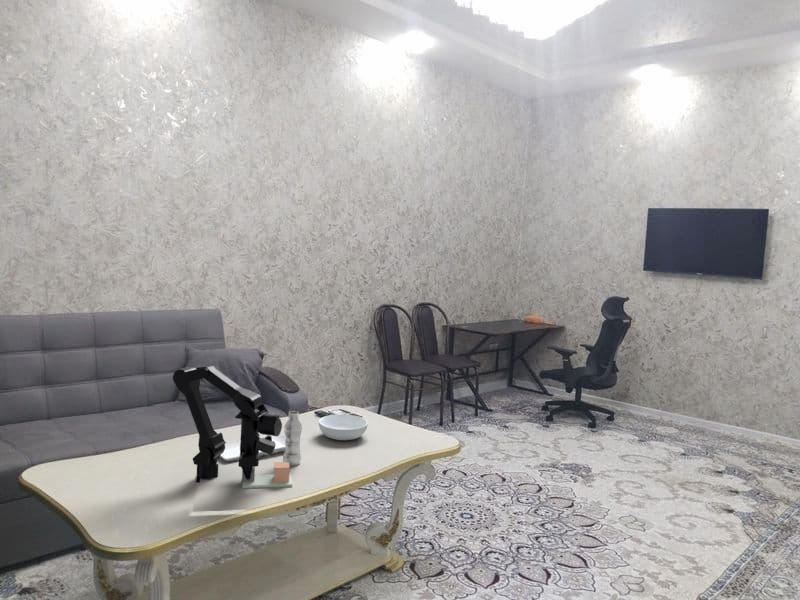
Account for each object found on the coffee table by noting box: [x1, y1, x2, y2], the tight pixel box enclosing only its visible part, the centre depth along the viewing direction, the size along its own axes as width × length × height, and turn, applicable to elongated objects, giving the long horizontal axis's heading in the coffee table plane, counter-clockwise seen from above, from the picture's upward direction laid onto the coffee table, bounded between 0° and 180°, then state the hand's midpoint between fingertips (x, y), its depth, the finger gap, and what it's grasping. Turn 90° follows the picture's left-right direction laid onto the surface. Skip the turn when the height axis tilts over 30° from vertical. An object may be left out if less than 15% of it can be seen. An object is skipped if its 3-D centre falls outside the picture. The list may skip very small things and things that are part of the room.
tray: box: [220, 432, 285, 463], centre depth 235 cm, size 17×32×4 cm, turn 132°
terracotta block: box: [273, 461, 291, 482], centre depth 205 cm, size 5×5×5 cm
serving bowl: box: [318, 414, 369, 441], centre depth 259 cm, size 21×21×7 cm
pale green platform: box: [241, 466, 293, 489], centre depth 204 cm, size 16×9×5 cm, turn 103°
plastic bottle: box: [282, 410, 303, 467], centre depth 222 cm, size 6×7×20 cm
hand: (248, 477), depth 203 cm, fingers closed on pale green platform, 2 cm apart
